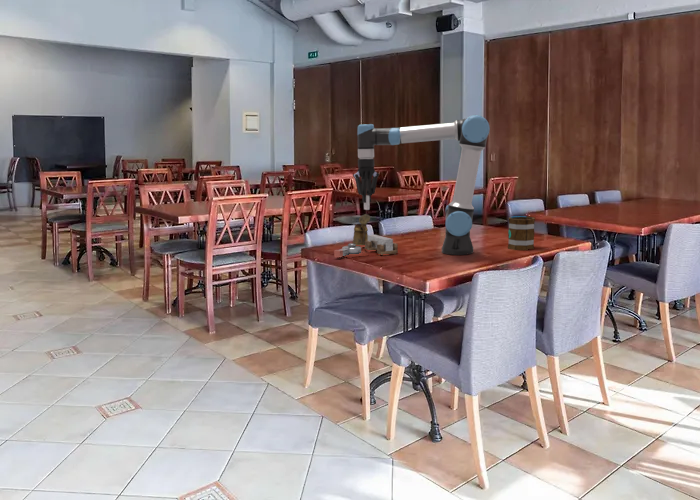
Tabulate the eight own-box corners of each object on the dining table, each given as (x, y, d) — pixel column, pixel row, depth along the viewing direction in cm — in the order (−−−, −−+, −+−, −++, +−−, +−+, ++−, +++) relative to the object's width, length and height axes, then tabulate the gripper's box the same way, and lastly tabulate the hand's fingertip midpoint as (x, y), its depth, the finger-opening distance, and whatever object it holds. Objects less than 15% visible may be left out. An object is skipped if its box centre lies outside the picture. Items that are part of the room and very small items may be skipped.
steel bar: (392, 250, 310) (392, 239, 309) (385, 251, 308) (385, 239, 307) (374, 245, 325) (374, 234, 324) (367, 246, 323) (367, 235, 322)
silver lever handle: (349, 251, 317) (349, 241, 316) (364, 252, 312) (364, 243, 311) (329, 256, 304) (329, 247, 303) (345, 258, 299) (344, 248, 298)
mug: (539, 249, 316) (540, 219, 313) (512, 251, 314) (513, 220, 311) (523, 243, 335) (524, 214, 332) (498, 244, 333) (499, 215, 330)
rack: (397, 254, 311) (397, 243, 311) (381, 256, 307) (381, 245, 306) (380, 249, 325) (380, 239, 324) (364, 251, 321) (364, 241, 320)
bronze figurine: (357, 249, 325) (357, 214, 322) (349, 245, 338) (349, 211, 335) (374, 248, 328) (374, 213, 325) (366, 244, 340) (365, 210, 337)
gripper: (374, 157, 304) (374, 207, 308) (349, 158, 298) (350, 209, 302) (382, 158, 298) (382, 209, 302) (357, 159, 292) (358, 211, 296)
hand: (366, 209), depth 302 cm, fingers closed
